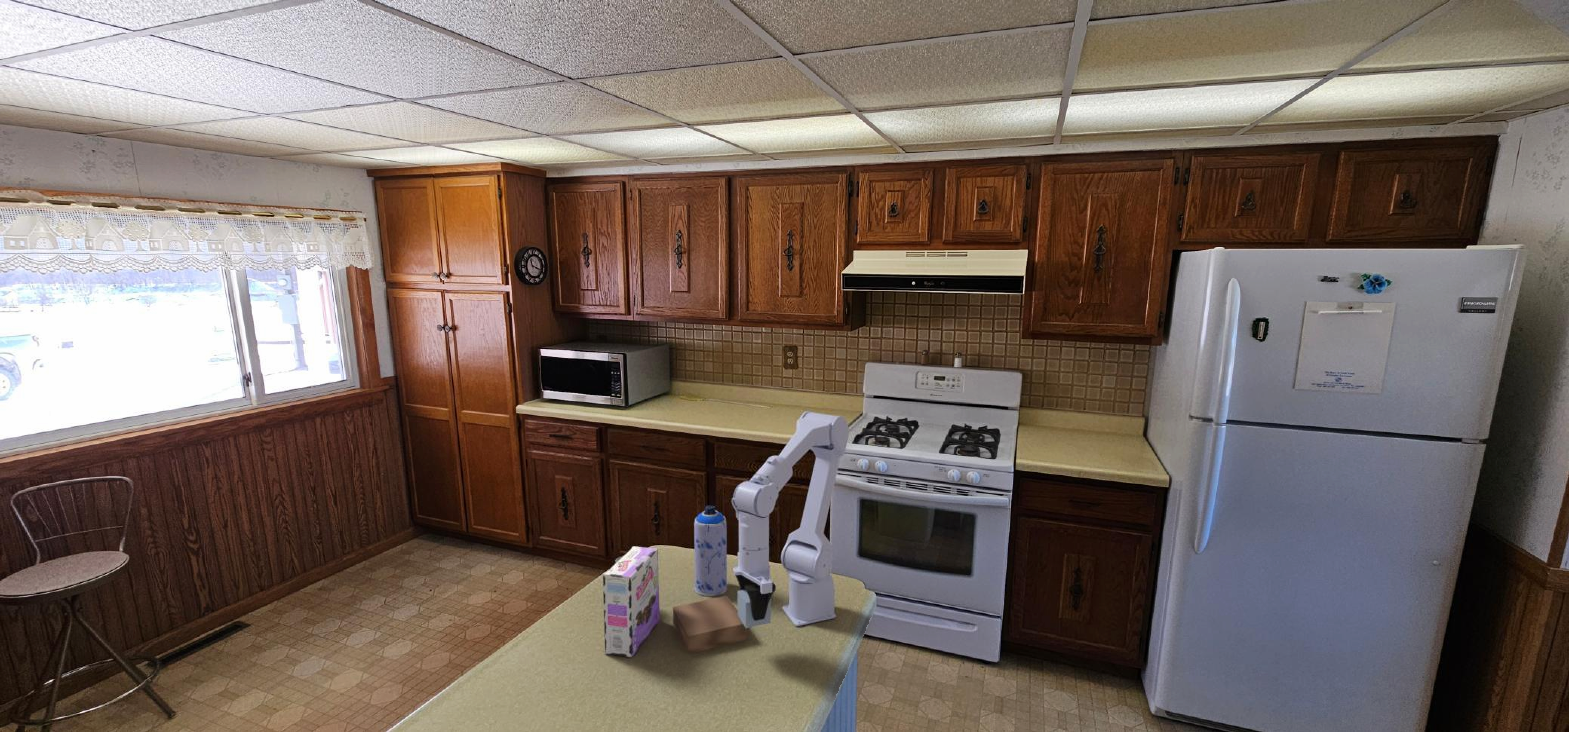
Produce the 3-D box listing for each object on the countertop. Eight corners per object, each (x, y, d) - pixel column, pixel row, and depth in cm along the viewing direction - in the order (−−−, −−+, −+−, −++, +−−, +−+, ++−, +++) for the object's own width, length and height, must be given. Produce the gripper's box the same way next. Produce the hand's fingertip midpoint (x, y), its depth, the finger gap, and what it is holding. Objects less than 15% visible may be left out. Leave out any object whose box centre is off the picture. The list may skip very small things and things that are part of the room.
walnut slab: (727, 612, 135) (726, 595, 135) (746, 641, 124) (746, 622, 124) (673, 624, 130) (672, 606, 130) (688, 655, 119) (688, 636, 119)
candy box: (632, 658, 118) (629, 577, 116) (603, 654, 119) (601, 573, 117) (660, 620, 131) (659, 546, 129) (635, 617, 132) (633, 544, 130)
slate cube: (761, 609, 122) (761, 586, 122) (770, 622, 118) (770, 598, 117) (737, 614, 120) (737, 590, 120) (745, 627, 116) (745, 602, 115)
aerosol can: (732, 582, 148) (731, 502, 146) (721, 598, 141) (720, 514, 138) (701, 578, 150) (700, 499, 147) (689, 593, 142) (687, 511, 140)
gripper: (722, 533, 122) (723, 597, 124) (746, 563, 109) (746, 635, 111) (756, 528, 125) (756, 591, 127) (783, 557, 112) (782, 627, 113)
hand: (754, 611), depth 119 cm, fingers closed on slate cube, 5 cm apart
